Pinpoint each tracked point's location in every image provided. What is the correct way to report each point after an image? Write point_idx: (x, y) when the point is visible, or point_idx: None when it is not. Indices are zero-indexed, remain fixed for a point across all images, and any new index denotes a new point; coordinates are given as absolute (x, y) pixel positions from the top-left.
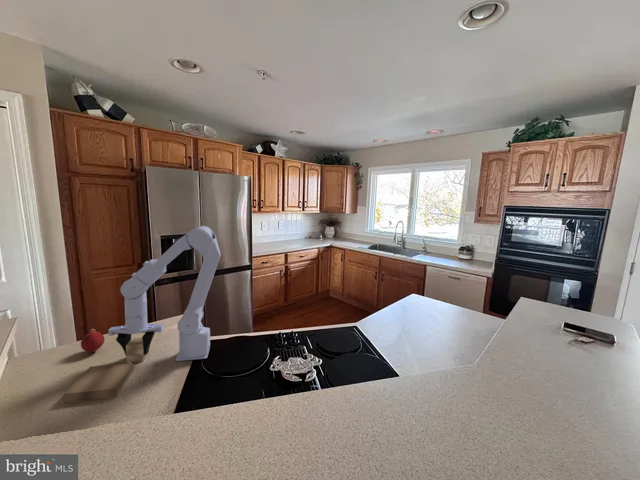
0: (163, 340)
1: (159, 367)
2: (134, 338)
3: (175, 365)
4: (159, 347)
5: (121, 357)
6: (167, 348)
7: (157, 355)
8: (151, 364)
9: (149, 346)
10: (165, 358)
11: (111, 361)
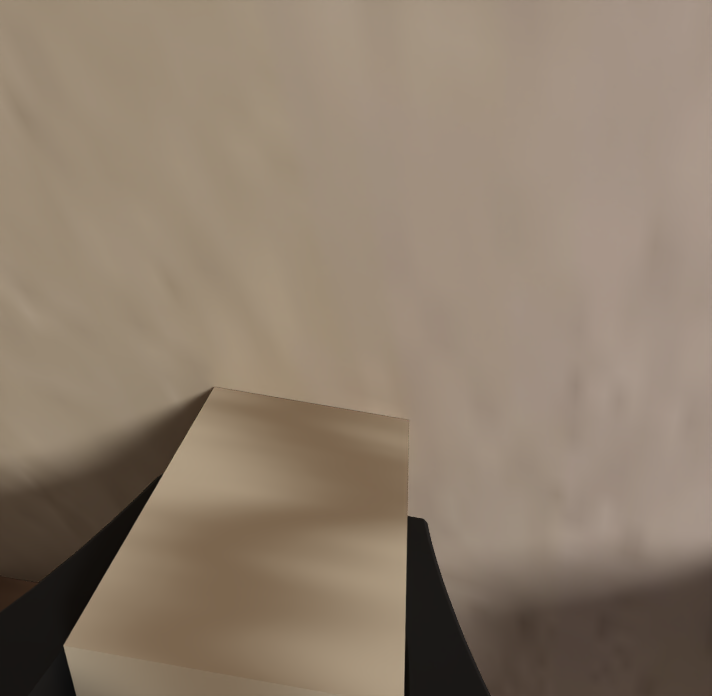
0: (659, 6)
1: (548, 666)
2: (124, 669)
3: (696, 687)
4: (561, 297)
5: (98, 398)
6: (681, 368)
7: (529, 491)
8: (472, 611)
9: (439, 584)
10: (618, 571)
11: (31, 443)
